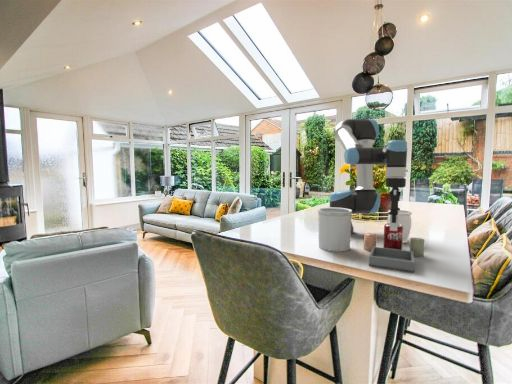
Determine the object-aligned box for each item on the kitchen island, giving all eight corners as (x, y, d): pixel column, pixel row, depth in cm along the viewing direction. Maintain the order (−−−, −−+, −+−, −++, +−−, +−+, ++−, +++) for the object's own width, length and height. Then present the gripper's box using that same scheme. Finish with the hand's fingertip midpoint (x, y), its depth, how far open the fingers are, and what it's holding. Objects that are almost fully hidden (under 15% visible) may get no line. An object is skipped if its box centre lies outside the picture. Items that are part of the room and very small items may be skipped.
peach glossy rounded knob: (363, 250, 122) (363, 234, 121) (364, 247, 126) (365, 232, 126) (375, 251, 120) (376, 236, 119) (376, 249, 124) (377, 233, 123)
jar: (409, 240, 140) (411, 210, 138) (411, 245, 130) (412, 213, 129) (386, 237, 144) (387, 209, 143) (386, 242, 135) (387, 212, 134)
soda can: (379, 250, 122) (380, 223, 121) (395, 249, 123) (396, 223, 122) (389, 255, 115) (390, 226, 114) (405, 254, 115) (407, 226, 114)
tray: (368, 265, 102) (369, 256, 102) (372, 254, 115) (372, 246, 115) (414, 272, 96) (414, 262, 95) (412, 260, 109) (413, 251, 108)
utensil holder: (332, 254, 116) (334, 213, 115) (310, 245, 130) (311, 208, 128) (358, 249, 123) (359, 210, 122) (334, 241, 136) (335, 206, 135)
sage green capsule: (409, 256, 114) (410, 239, 113) (409, 253, 118) (410, 237, 117) (424, 258, 111) (425, 241, 111) (423, 254, 116) (424, 238, 115)
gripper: (406, 178, 103) (404, 234, 105) (405, 177, 125) (403, 223, 127) (384, 177, 107) (382, 232, 108) (387, 177, 129) (385, 222, 130)
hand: (393, 227), depth 117 cm, fingers open, 13 cm apart
